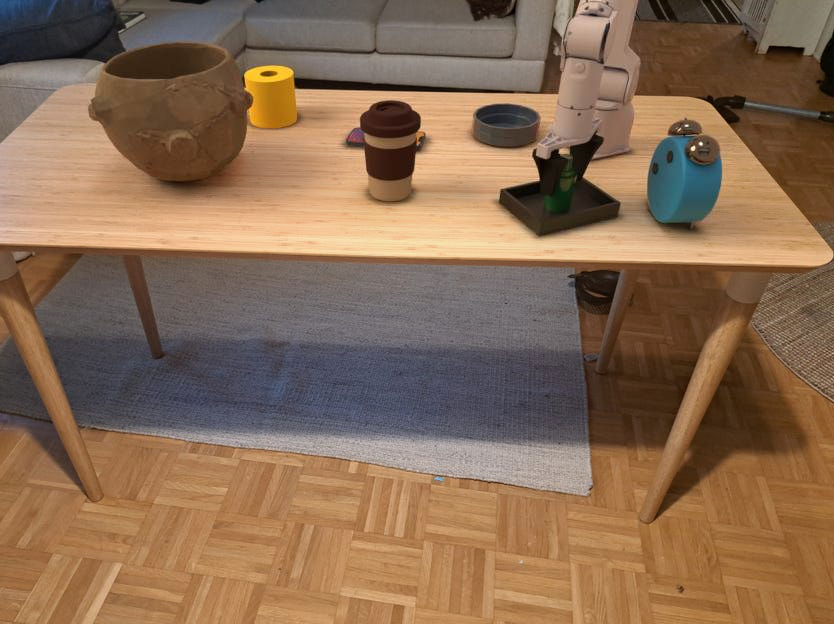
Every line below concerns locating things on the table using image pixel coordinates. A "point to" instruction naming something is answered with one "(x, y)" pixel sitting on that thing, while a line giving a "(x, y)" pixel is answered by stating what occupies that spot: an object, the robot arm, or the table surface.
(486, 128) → the dish
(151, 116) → the bowl
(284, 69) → the yellow toilet paper roll
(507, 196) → the tray
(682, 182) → the alarm clock
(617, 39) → the robot arm
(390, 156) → the coffee cup
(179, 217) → the table surface
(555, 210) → the bottle
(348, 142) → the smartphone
